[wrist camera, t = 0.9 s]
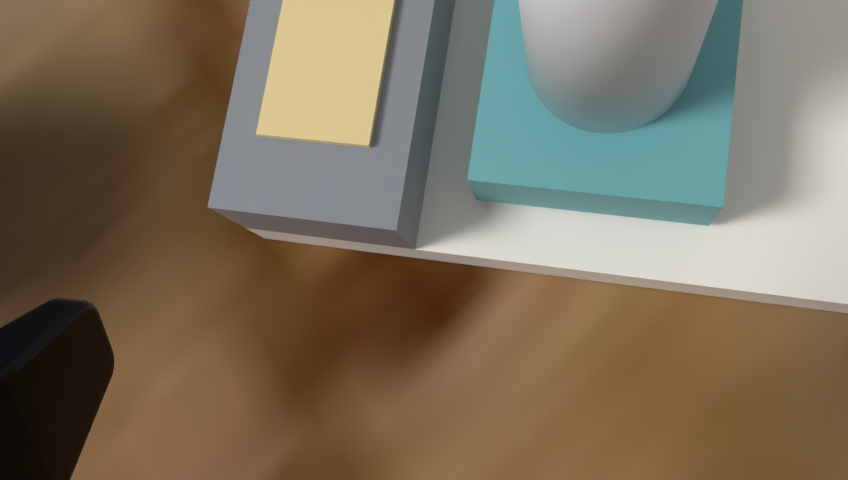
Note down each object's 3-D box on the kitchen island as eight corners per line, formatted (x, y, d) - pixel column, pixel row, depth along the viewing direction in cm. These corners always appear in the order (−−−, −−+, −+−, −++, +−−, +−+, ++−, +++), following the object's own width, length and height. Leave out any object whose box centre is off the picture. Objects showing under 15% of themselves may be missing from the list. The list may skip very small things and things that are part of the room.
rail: (1457, -7, 20) (1680, -110, 16) (1485, 395, 18) (1741, 392, 14) (322, -62, 26) (277, -148, 22) (264, 238, 24) (203, 205, 20)
